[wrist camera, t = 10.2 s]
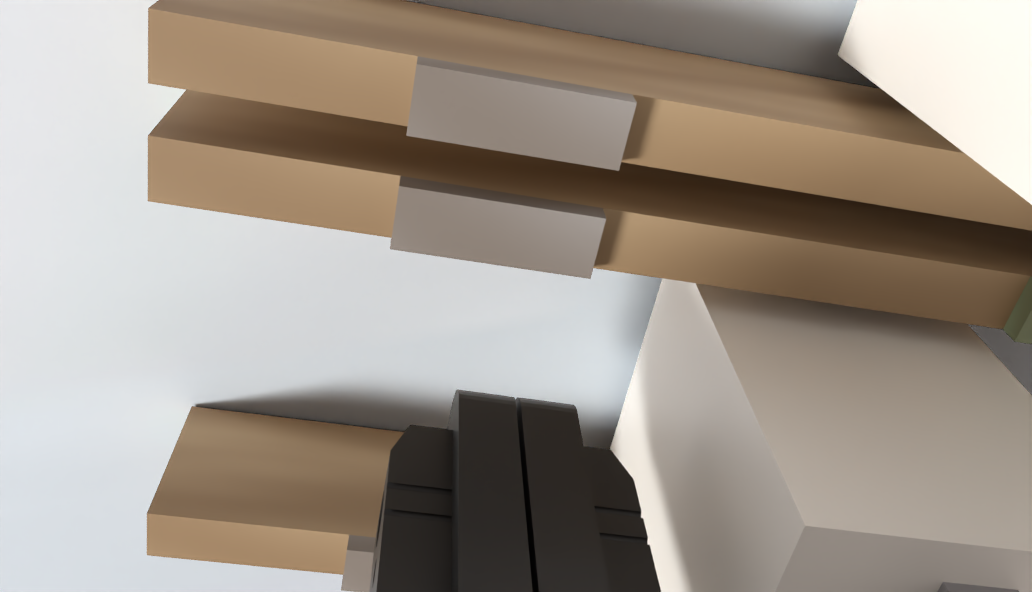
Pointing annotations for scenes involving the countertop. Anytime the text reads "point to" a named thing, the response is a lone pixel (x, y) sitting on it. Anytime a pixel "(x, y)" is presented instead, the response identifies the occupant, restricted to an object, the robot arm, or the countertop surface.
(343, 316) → the countertop surface
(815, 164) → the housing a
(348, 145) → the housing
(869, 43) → the tab
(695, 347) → the tab
